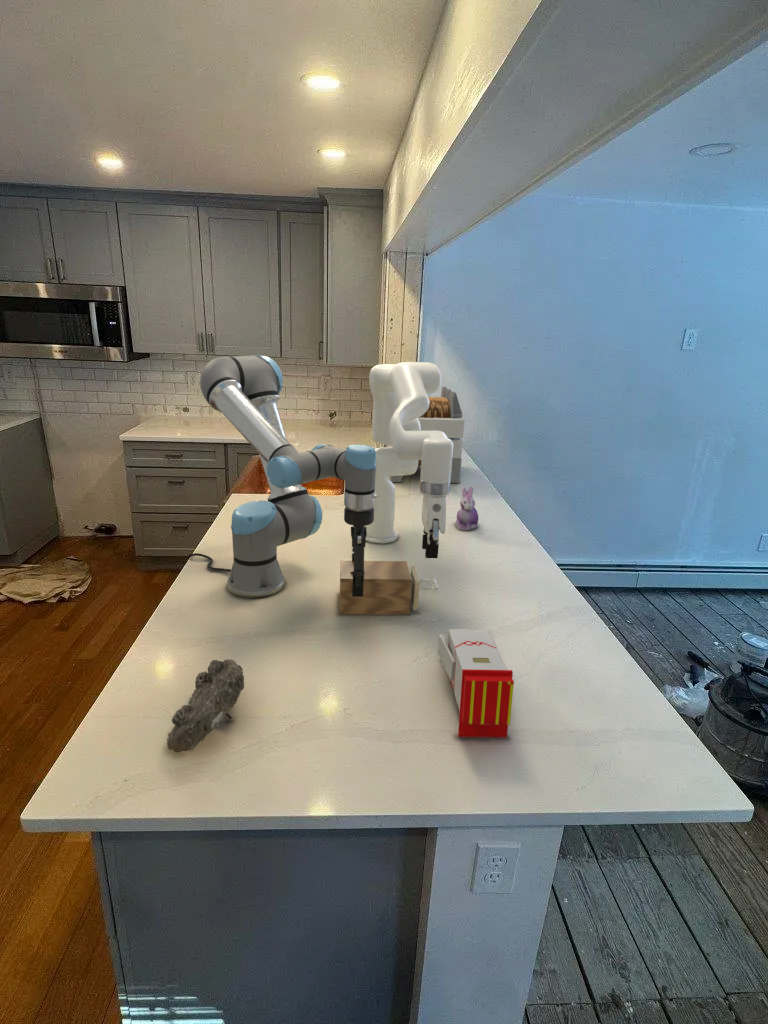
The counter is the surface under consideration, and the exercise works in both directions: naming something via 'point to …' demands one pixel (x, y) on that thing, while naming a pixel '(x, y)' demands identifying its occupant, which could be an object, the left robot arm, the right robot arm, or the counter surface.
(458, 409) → the grey storage bin
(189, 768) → the counter surface
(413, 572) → the drawer
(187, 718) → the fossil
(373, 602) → the cabinet
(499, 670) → the toy
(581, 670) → the counter surface
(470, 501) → the figurine
